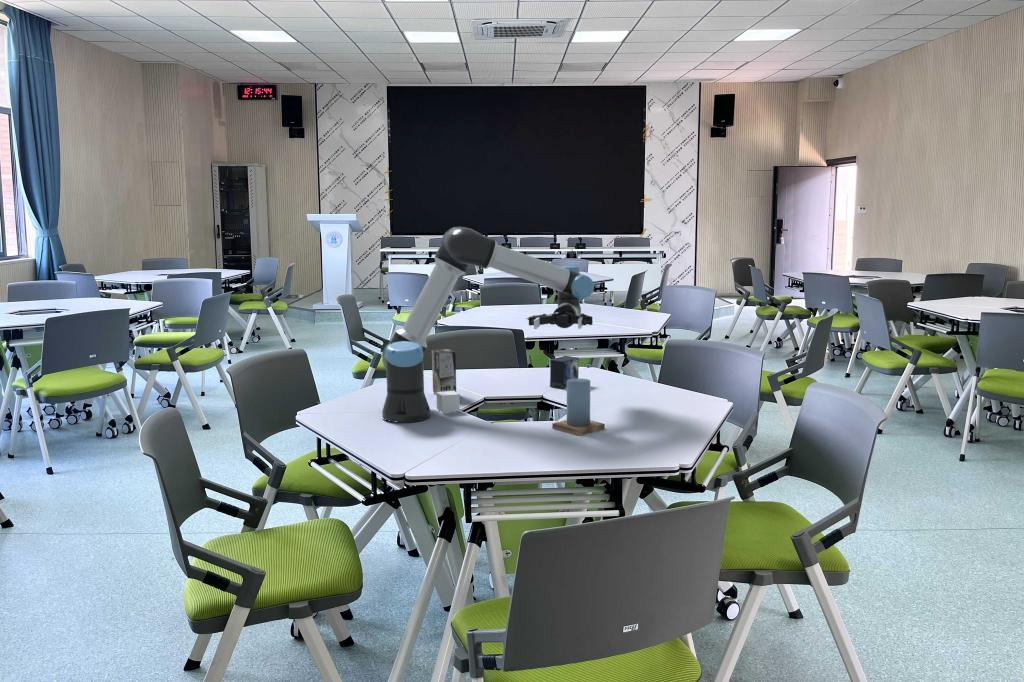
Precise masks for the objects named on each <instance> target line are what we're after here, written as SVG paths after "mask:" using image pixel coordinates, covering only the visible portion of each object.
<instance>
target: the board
mask: <svg viewBox="0 0 1024 682" xmlns="http://www.w3.org/2000/svg"><path fill="white" fill-rule="evenodd" d="M551 426H552V429H554V430H557V431H561V432H565V433H568V434H571V435H576V436H582V435H585V434H589V433H590V434H591V433H593V432H598V431H601V430H605V428H606V427H605V426H606V424H605V423H602V422H599V421H596V420H595V421H594V420H592V419H590V425H588V426H583V427H575V426H569V425H567V419H564V420H561V421H557V422H553V423H552V424H551Z"/></svg>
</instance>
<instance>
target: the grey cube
mask: <svg viewBox="0 0 1024 682" xmlns="http://www.w3.org/2000/svg"><path fill="white" fill-rule="evenodd" d="M436 395H437V396H436ZM436 395H435V396H436V410H437V409H438V410H439V411H441V412H442V413H444V414H448V413H447V412H454V413H457V412H456V411H460V412H461V404H460V399H461V398H460V393H459V392H457V391H456V392H455V391H445V392H436ZM438 410H437V411H438ZM439 411H438V412H439ZM441 412H440V413H441ZM442 413H441V414H442Z"/></svg>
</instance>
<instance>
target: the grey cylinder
mask: <svg viewBox="0 0 1024 682" xmlns="http://www.w3.org/2000/svg"><path fill="white" fill-rule="evenodd" d="M566 420H567V425H569V426H575V427H583V426H588V425H590V420H591V380H590V379H588V378H579V377H578V378H577V379H569V380H567V388H566Z"/></svg>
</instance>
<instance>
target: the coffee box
mask: <svg viewBox="0 0 1024 682" xmlns="http://www.w3.org/2000/svg"><path fill="white" fill-rule="evenodd" d="M456 358H457V355H456V351H454V350H452V349H449V348H439V349H431V368H432V369H431V370H432V371H431V372H432V374H431V375H432V393H433V392H434V393H435V394H436V392H445V391H455V392H457V364H456V361H457V359H456ZM435 394H434V395H435Z"/></svg>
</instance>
